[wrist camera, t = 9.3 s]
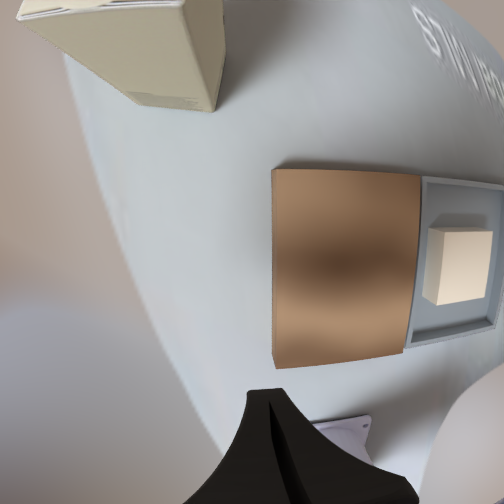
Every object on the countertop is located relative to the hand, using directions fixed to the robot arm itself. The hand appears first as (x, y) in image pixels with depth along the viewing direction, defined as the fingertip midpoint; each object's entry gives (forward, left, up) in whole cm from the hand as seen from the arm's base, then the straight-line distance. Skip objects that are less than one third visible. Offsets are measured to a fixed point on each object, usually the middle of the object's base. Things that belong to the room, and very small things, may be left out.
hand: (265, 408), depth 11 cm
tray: (+3, -16, -9) cm, 19 cm away
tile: (+3, -15, -9) cm, 18 cm away
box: (+15, +4, -10) cm, 18 cm away
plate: (+3, -6, -9) cm, 12 cm away
